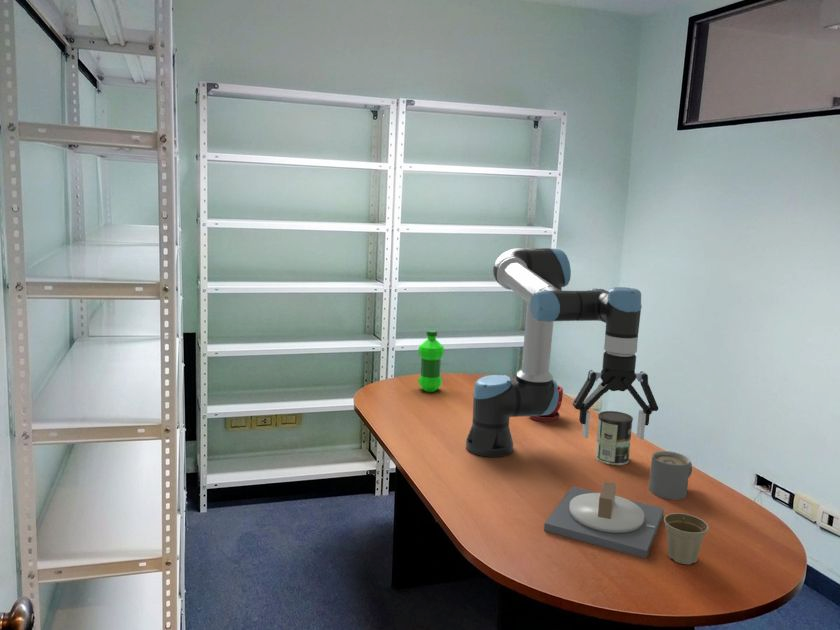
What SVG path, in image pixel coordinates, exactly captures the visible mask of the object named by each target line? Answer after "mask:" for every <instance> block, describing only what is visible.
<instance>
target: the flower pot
mask: <svg viewBox="0 0 840 630" xmlns="http://www.w3.org/2000/svg"><path fill="white" fill-rule="evenodd" d="M663 522H664V525H665V529H666V542H667V556H668V558H669V559H672V560H673V561H674V562H675V563H679V564H683V565H691V564H696V563H697V562H698V559H699V554H700V551H701V547H702V542H703V539H704V537H706V536H705V535H706V533H707V532H708V531H709V525H708V523H707V522H706V521H704V520H703V519H702V518H699V517H698V516H695V515H692V514H688V513H681V512H671V513H668V514H666V515H664V516H663Z"/></svg>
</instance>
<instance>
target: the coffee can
mask: <svg viewBox="0 0 840 630" xmlns="http://www.w3.org/2000/svg"><path fill="white" fill-rule="evenodd" d="M597 417H598V422H597V433H596V446H595V447H596V449H595V456H594V457H596V458H595V459H596V460H597V461H598V460H599V461H598V462H601V463H602V462H603V463H602V464H605V463H606V464H605V465H610V464H611V466H623V465H624V466H625V465H627V464H629V462H630V450H631V438H632V427H633V421H634V417H633V416H632V415H630V414H628V413H626V412H625V413H624V412H622V411H615V410H606V411H601V412H599V413H598V415H597Z"/></svg>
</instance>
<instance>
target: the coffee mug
mask: <svg viewBox="0 0 840 630" xmlns="http://www.w3.org/2000/svg"><path fill="white" fill-rule="evenodd" d="M692 471H693V463H692V461H691V459H690V458H689V457H687V455H684V454H683V453H682V454H681V453H680V452H679V453H678V452H675V451H667V450H659V451H655V452H653V453H652V454H651V462H650V473H649V483H648V484H649V485H648V491H649V492H650V493H652V494H653V495H655V496H656V497H659V498H662V499H666V500H683V499H685V498H686V497H687V495H688V485H689V478H690V477H691V475H692Z"/></svg>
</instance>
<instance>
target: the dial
mask: <svg viewBox="0 0 840 630" xmlns="http://www.w3.org/2000/svg"><path fill="white" fill-rule="evenodd" d="M616 489H617V483H614V482H610V481H603V484H602V488H601V491H600V492H597V493H587V494H581V495H578V496H576V497H574V498H573V499H572V500H571V501H570V506H569V512H570V514H571V516H572V517H573V518H574V519H575V520H576V521H577V522H579V523H581V524H582V525H584V526H587V527H589V528H592V529H595V530H599V531H604V532H610V533H626V532H632V531H635V530H637V529H639V528H640V527H642V525H643V523H644V512H643V510H642V509H641V508H640V507H639V506H638V505H636V504H635V503H633V502H631V501H632V500H631V501H629V500H630V499H627V498H624V497H622V496H618V495H616Z"/></svg>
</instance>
